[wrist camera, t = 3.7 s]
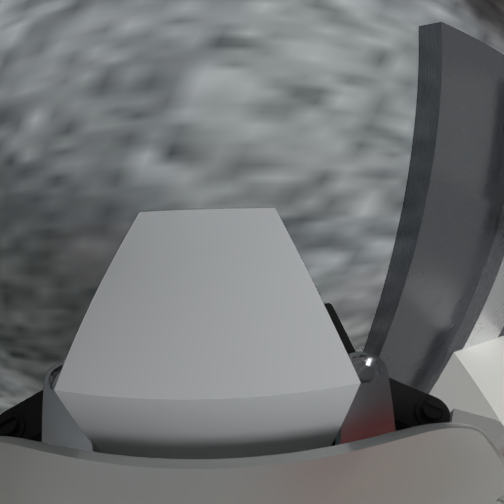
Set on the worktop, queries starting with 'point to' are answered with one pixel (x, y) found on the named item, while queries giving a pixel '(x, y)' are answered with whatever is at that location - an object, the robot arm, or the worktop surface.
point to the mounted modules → (474, 380)
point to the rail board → (447, 215)
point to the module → (207, 344)
